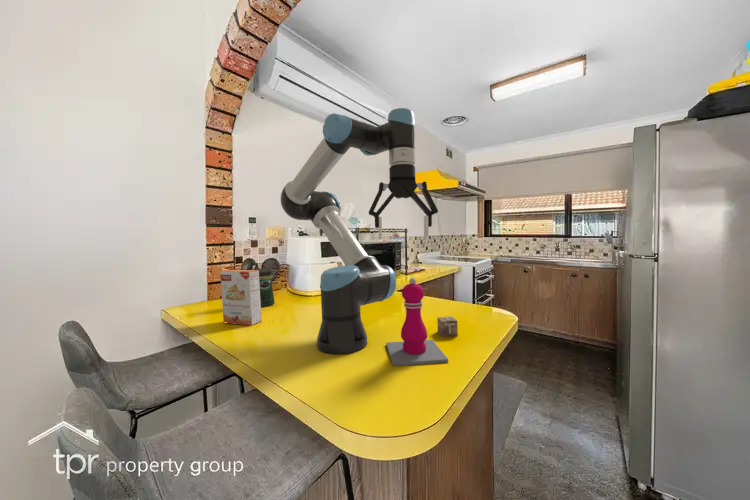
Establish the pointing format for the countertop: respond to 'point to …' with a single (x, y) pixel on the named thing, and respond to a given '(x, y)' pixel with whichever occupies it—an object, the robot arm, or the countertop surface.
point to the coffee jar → (266, 287)
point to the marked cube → (447, 326)
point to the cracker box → (241, 296)
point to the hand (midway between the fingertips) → (403, 238)
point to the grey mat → (427, 357)
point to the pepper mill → (413, 319)
